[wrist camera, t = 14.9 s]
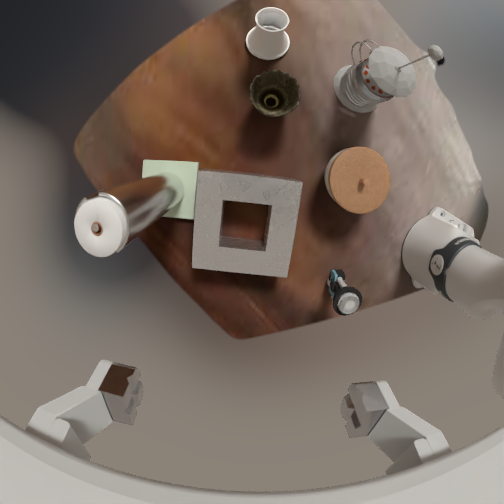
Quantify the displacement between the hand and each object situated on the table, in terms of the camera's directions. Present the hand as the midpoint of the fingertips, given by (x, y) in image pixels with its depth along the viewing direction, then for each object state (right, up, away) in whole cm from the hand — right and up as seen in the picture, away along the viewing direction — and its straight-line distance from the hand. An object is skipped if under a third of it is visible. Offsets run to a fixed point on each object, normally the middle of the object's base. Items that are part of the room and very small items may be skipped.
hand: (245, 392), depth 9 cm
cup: (+3, +31, +33) cm, 45 cm away
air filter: (-15, +16, +37) cm, 43 cm away
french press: (+19, +36, +31) cm, 51 cm away
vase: (+3, +42, +29) cm, 51 cm away
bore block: (-1, +11, +40) cm, 41 cm away
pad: (-14, +16, +37) cm, 43 cm away
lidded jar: (+17, +19, +37) cm, 45 cm away
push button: (+17, -1, +45) cm, 48 cm away
